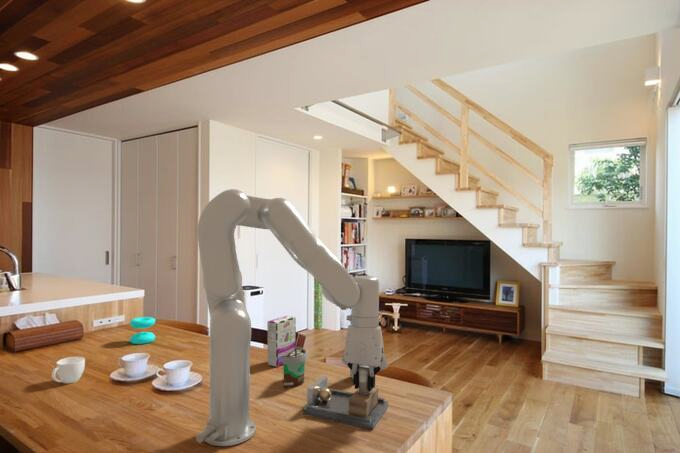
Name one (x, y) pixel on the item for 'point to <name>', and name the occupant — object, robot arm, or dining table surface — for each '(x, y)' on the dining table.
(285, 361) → the food container
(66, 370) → the cup
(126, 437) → the dining table surface
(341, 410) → the grey tray
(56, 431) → the dining table surface
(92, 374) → the dining table surface
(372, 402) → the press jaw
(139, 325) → the donuts
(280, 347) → the candy bar box
